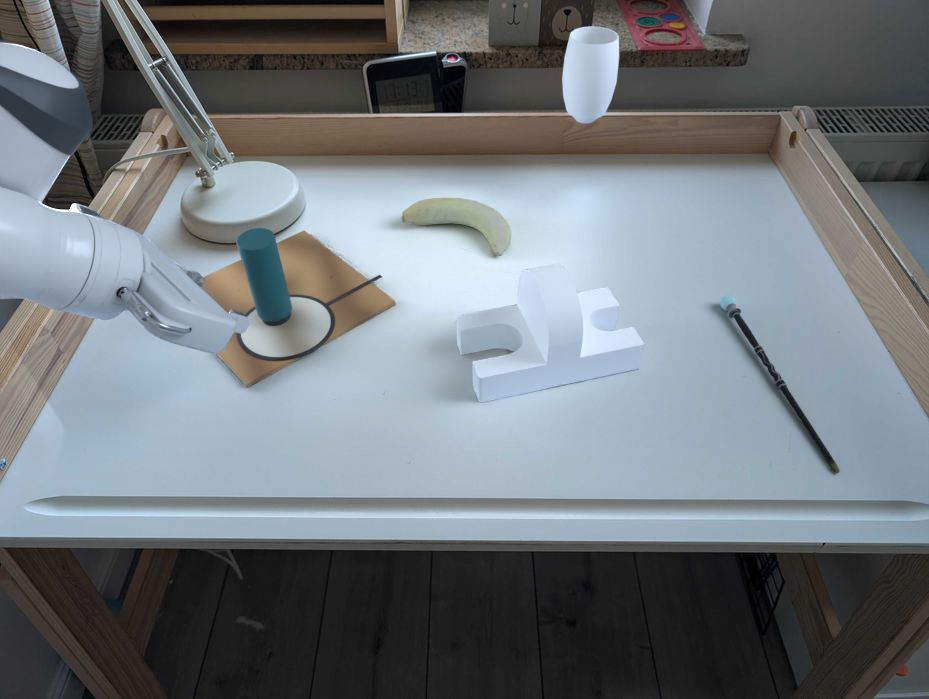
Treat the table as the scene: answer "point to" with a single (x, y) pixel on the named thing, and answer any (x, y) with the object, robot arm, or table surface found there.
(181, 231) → the table surface
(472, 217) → the fruit
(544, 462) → the table surface
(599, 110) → the cup
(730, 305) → the magic staff
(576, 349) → the block with arch cutout
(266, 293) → the teal cylinder
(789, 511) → the table surface
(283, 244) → the brown flat square board
